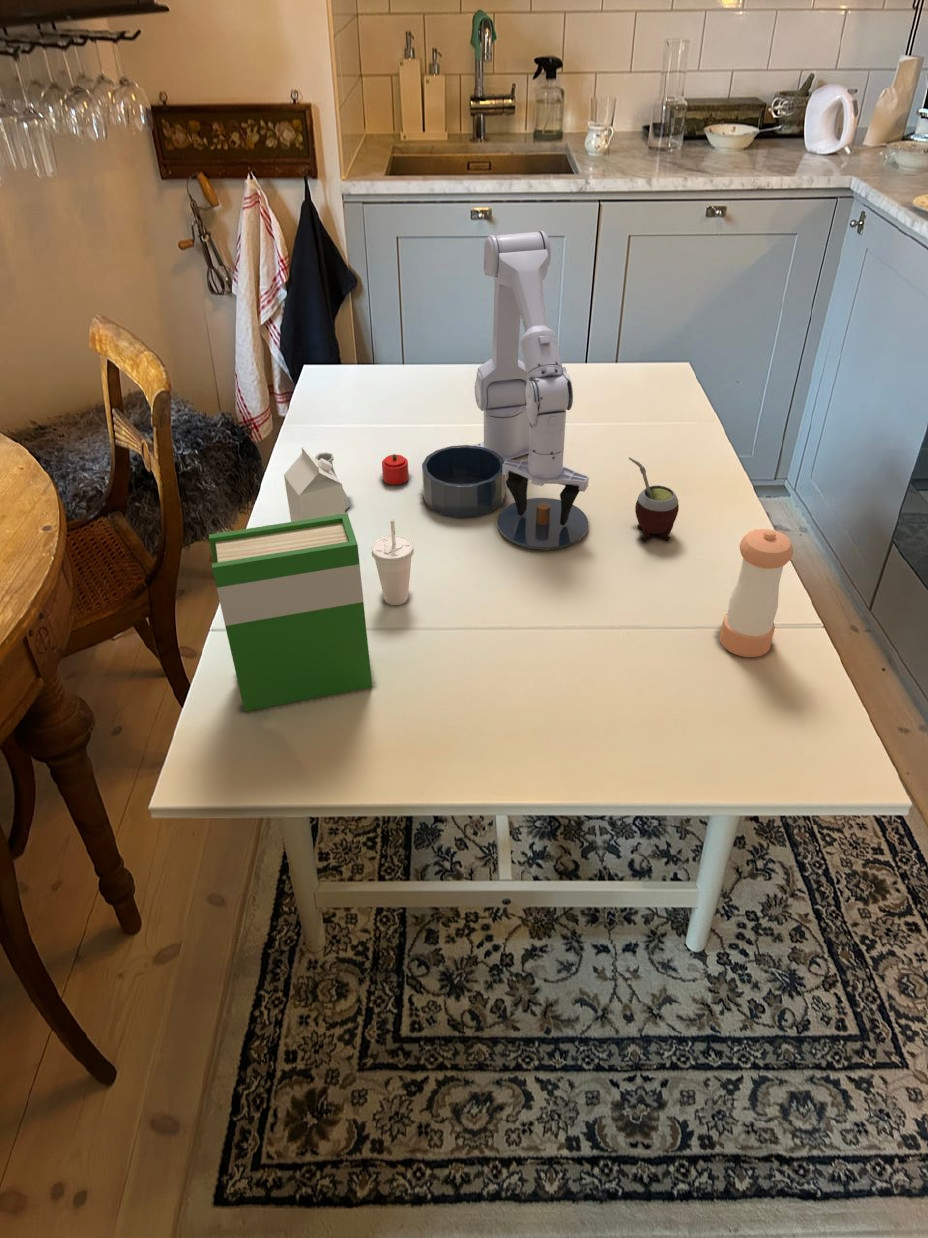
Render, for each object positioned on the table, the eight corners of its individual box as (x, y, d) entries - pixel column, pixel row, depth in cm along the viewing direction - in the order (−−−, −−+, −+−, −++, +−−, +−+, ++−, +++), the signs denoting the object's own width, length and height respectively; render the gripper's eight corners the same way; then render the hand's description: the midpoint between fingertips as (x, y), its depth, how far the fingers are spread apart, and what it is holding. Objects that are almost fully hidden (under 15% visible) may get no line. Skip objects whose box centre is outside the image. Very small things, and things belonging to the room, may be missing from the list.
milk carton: (310, 575, 152) (295, 472, 140) (295, 553, 156) (280, 451, 145) (351, 563, 154) (340, 460, 142) (335, 541, 159) (323, 441, 147)
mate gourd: (682, 532, 160) (694, 454, 150) (656, 552, 155) (667, 473, 146) (645, 516, 164) (655, 439, 154) (619, 535, 159) (627, 457, 150)
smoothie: (423, 591, 148) (419, 516, 139) (404, 614, 143) (399, 538, 135) (387, 581, 150) (381, 506, 141) (368, 604, 145) (360, 528, 137)
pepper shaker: (761, 663, 134) (789, 553, 122) (712, 646, 137) (734, 536, 125) (777, 635, 138) (805, 526, 126) (729, 619, 141) (752, 511, 129)
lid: (531, 493, 170) (532, 472, 168) (605, 521, 163) (607, 500, 160) (479, 531, 161) (479, 510, 158) (555, 563, 153) (556, 541, 151)
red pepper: (400, 469, 178) (399, 445, 174) (413, 480, 174) (412, 456, 171) (378, 476, 176) (376, 452, 172) (390, 488, 172) (388, 463, 169)
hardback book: (244, 711, 127) (212, 567, 112) (239, 675, 133) (208, 534, 118) (372, 686, 131) (357, 544, 116) (362, 653, 136) (347, 513, 121)
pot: (457, 467, 178) (456, 437, 174) (520, 491, 171) (521, 460, 167) (407, 499, 169) (405, 469, 165) (471, 526, 162) (470, 495, 158)
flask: (353, 496, 170) (349, 447, 164) (346, 518, 165) (340, 468, 158) (314, 494, 171) (308, 445, 165) (305, 516, 165) (298, 466, 159)
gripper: (495, 449, 152) (494, 519, 160) (581, 466, 147) (575, 538, 156) (511, 430, 157) (510, 499, 165) (595, 446, 152) (589, 517, 161)
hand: (542, 517), depth 161 cm, fingers open, 7 cm apart
